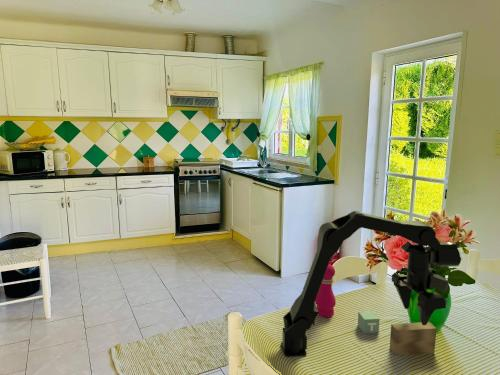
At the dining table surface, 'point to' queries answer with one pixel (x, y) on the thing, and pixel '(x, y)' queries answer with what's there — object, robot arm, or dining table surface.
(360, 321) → the letter cube
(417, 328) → the wooden block
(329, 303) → the pepper mill
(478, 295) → the dining table surface
